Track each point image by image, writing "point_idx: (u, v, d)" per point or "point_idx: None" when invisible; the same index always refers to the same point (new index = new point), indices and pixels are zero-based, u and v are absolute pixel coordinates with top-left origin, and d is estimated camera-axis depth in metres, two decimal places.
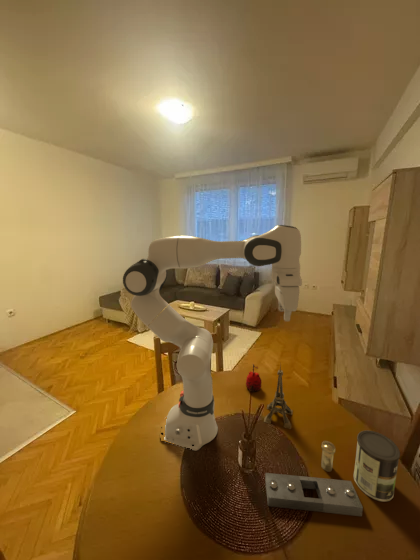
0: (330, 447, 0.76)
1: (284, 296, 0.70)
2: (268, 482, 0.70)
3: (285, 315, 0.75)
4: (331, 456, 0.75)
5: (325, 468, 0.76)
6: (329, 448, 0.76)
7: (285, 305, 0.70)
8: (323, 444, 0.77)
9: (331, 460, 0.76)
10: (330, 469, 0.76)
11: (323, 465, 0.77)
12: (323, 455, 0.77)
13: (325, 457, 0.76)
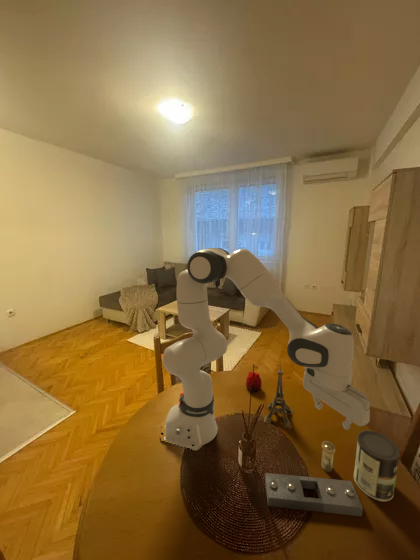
0: (330, 447, 0.76)
1: None
2: (268, 482, 0.70)
3: None
4: (331, 456, 0.75)
5: (325, 468, 0.76)
6: (329, 448, 0.76)
7: None
8: (323, 444, 0.77)
9: (331, 460, 0.76)
10: (330, 469, 0.76)
11: (323, 465, 0.77)
12: (323, 455, 0.77)
13: (325, 457, 0.76)
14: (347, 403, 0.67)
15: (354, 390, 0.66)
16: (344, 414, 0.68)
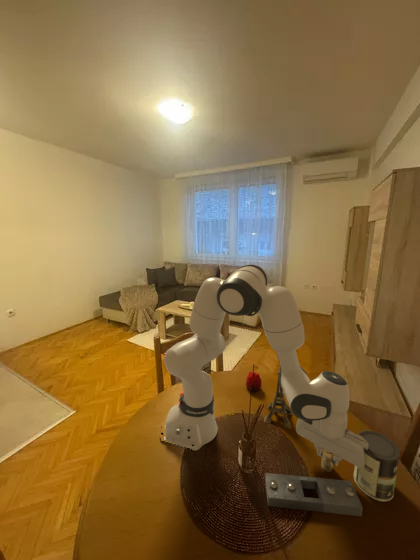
0: None
1: None
2: (268, 482, 0.70)
3: None
4: (331, 456, 0.75)
5: (325, 468, 0.76)
6: None
7: None
8: None
9: (331, 460, 0.76)
10: (330, 469, 0.76)
11: (323, 465, 0.77)
12: (323, 455, 0.77)
13: (325, 457, 0.76)
14: (347, 448, 0.71)
15: (353, 434, 0.70)
16: (344, 458, 0.71)
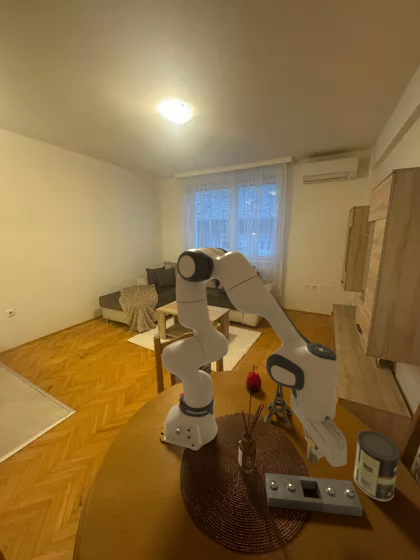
0: None
1: None
2: (268, 482, 0.70)
3: None
4: (314, 444, 0.64)
5: (308, 456, 0.66)
6: None
7: None
8: None
9: None
10: (313, 460, 0.65)
11: (307, 452, 0.67)
12: (308, 440, 0.66)
13: (308, 442, 0.65)
14: (322, 437, 0.59)
15: (330, 423, 0.57)
16: (320, 448, 0.60)
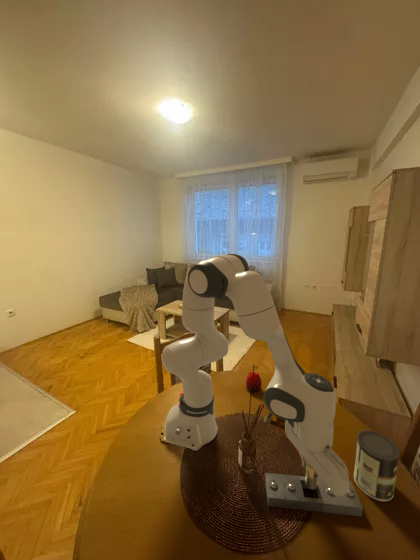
0: None
1: None
2: (268, 482, 0.70)
3: None
4: (313, 472, 0.65)
5: (307, 483, 0.67)
6: None
7: None
8: None
9: (313, 477, 0.66)
10: (312, 487, 0.66)
11: (305, 479, 0.68)
12: (306, 468, 0.67)
13: (307, 470, 0.67)
14: (324, 467, 0.60)
15: (332, 453, 0.59)
16: (321, 477, 0.61)
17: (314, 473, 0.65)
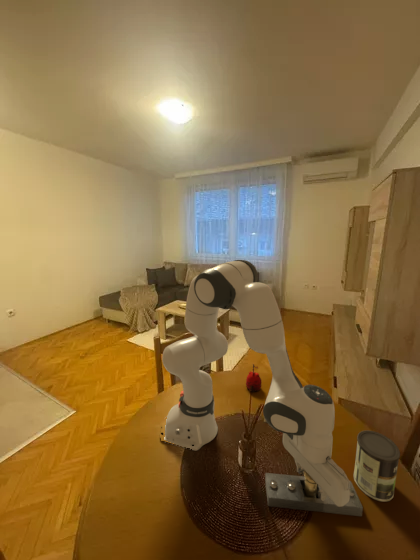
0: None
1: None
2: (268, 482, 0.70)
3: None
4: (312, 486, 0.66)
5: None
6: None
7: None
8: None
9: (312, 491, 0.67)
10: None
11: (304, 493, 0.69)
12: (305, 482, 0.68)
13: (306, 485, 0.68)
14: (325, 478, 0.61)
15: (333, 464, 0.60)
16: (322, 488, 0.62)
17: (313, 488, 0.66)
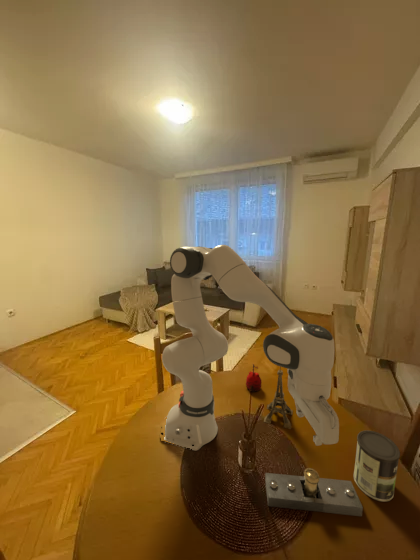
0: (314, 476, 0.67)
1: None
2: (268, 482, 0.70)
3: None
4: (312, 487, 0.66)
5: None
6: (312, 477, 0.67)
7: None
8: (306, 471, 0.69)
9: (313, 491, 0.67)
10: None
11: (304, 493, 0.69)
12: (305, 482, 0.68)
13: (306, 485, 0.68)
14: (316, 415, 0.59)
15: (324, 402, 0.57)
16: (313, 427, 0.60)
17: (313, 488, 0.66)
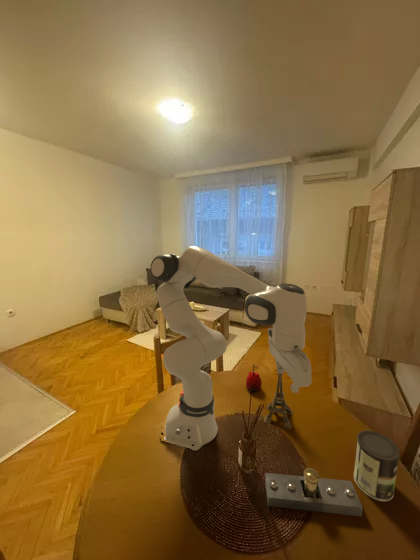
0: (313, 476, 0.67)
1: None
2: (268, 482, 0.70)
3: None
4: (312, 486, 0.66)
5: None
6: (312, 477, 0.67)
7: None
8: (306, 470, 0.69)
9: (312, 491, 0.67)
10: None
11: (304, 493, 0.69)
12: (305, 482, 0.68)
13: (306, 485, 0.68)
14: (291, 364, 0.65)
15: (298, 350, 0.64)
16: (289, 375, 0.66)
17: (313, 488, 0.66)
